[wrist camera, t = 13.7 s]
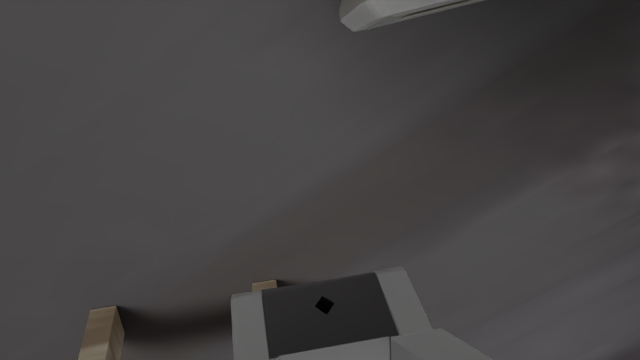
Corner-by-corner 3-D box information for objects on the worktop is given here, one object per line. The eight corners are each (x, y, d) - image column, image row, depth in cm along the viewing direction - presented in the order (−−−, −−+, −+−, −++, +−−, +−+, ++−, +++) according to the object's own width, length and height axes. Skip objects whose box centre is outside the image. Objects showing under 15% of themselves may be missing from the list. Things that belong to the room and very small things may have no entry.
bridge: (90, 309, 48) (65, 408, 40) (276, 279, 49) (289, 368, 41) (100, 337, 49) (78, 437, 41) (279, 306, 51) (294, 397, 43)
